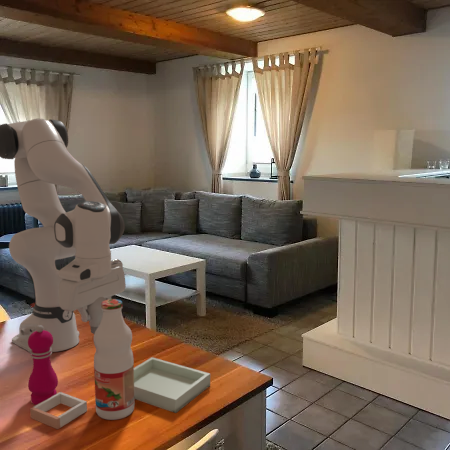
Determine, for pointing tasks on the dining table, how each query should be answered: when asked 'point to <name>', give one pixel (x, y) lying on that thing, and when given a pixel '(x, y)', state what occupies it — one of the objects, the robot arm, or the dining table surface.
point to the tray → (168, 384)
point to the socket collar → (57, 422)
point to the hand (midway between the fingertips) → (95, 317)
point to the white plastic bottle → (113, 364)
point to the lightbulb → (95, 313)
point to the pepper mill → (41, 366)
